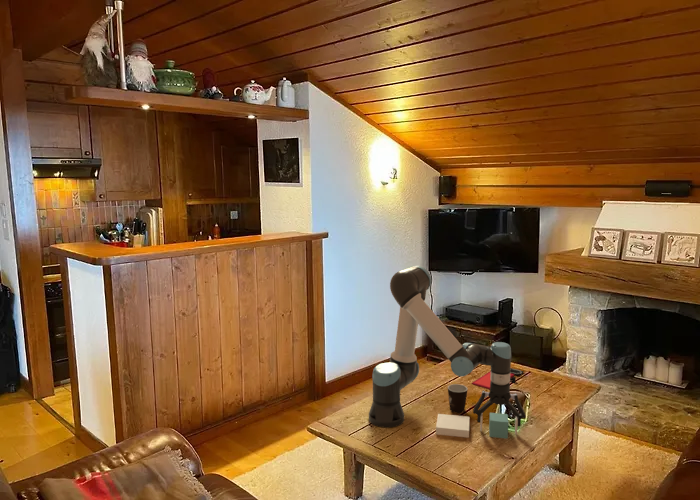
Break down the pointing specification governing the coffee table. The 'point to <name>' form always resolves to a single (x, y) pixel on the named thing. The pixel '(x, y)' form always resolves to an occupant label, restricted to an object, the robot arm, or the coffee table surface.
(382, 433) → the coffee table surface
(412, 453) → the coffee table surface
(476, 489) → the coffee table surface
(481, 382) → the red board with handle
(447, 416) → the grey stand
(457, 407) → the coffee mug
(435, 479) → the coffee table surface
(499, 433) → the teal cube
